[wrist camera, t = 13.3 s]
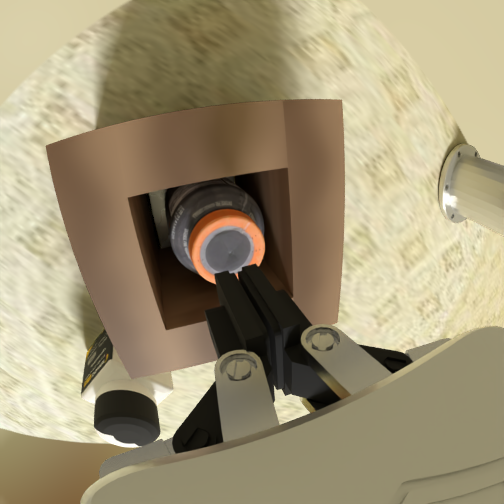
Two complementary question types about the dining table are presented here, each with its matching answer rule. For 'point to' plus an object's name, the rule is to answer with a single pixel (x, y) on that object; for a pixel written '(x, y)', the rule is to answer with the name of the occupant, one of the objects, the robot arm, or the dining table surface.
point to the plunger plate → (163, 215)
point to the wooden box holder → (192, 171)
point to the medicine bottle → (122, 397)
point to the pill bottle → (214, 227)
